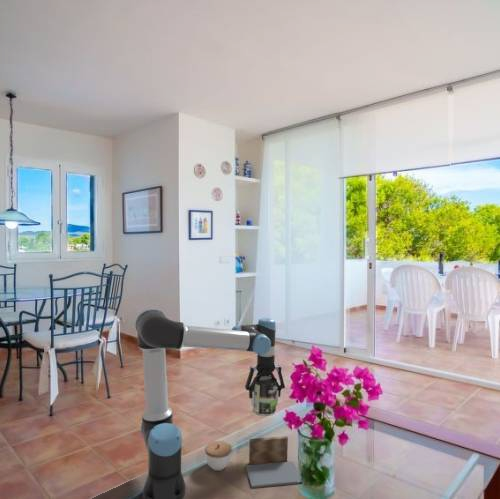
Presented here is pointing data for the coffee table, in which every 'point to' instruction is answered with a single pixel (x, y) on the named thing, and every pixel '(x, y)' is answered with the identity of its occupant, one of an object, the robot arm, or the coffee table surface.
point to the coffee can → (265, 396)
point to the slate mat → (272, 474)
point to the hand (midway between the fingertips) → (264, 404)
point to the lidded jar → (218, 454)
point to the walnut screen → (268, 450)
